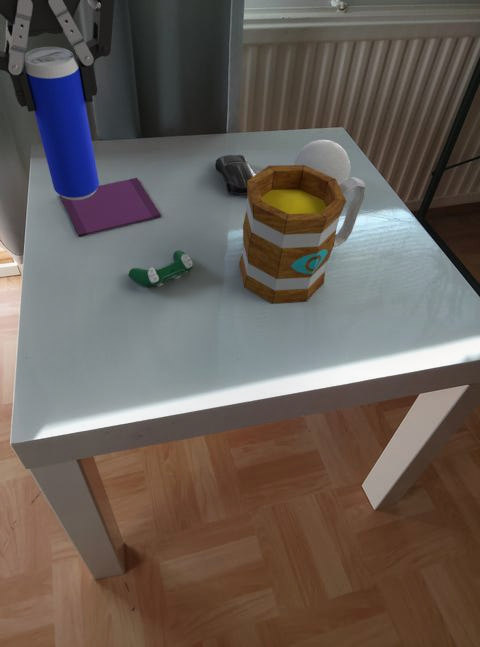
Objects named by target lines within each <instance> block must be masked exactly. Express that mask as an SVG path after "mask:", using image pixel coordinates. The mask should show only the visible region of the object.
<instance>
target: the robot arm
mask: <svg viewBox="0 0 480 647" xmlns="http://www.w3.org/2000/svg"><path fill="white" fill-rule="evenodd" d="M86 1H87V3H88V5H89V6H90V7H91V9H92V22H91V23H92V26H91V39H90V40H87V41H85V39H84V37H83V35H82V33H81V32H80V29H79V28H78V26H77V24H76V23H75V21H74V19H73V18H74V16H75V13H76V11H77V9H78V7H79V5H80V3H81V0H0V15H1V16H2V18H4V19H5V20H6V22H5V23H6V24H5V32H4V33H5V42H4V51H2V50H0V71H4V72H6V73H7V74H8V75H9V78H10V81H11V82H10V83H11V86H12V90H13V92H14V96H15V98H16V100H17V103H18V104H19V105H20V107H21V108H22V107H23V108H24V107H25V108H26V110H27V112H34V111H35V106H34V102H33V98H32V95H31V91H30V87H29V83H28V79H27V75H26V73H25V71H24V57H25V54H26V52H27V47H28V40H29V38H31V37H38V36H40V35H43V34H45V33H46V34H52V35H59V34H64V35H65V37H66V38H67V40H68V42H69V43H70V45H71V47H72V48H73V50H74V52H75V54H76V57H75V59H76V61H77V63H78V65H79V70H80V76H81V82H82V88H83V94H84V99H85V104H87V103H92V102H93V101H94V99H93V97H94V96H97V93H98V86H97V79H96V73H95V66H94V65H95V62H96V60H98V59H99V58H101V57H104V58H105V57H108V56H109V55H110V54H111V52H112V36H113V24H114V11H115V0H86Z"/></svg>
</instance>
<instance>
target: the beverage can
mask: <svg viewBox="0 0 480 647" xmlns="http://www.w3.org/2000/svg"><path fill="white" fill-rule="evenodd" d="M75 58H76V57H75V54H74V53H73V52H72V51H70V50H69V49H67V48H64V47H60V46H42V47H36V48H33V49H31V50H29V51H28V52H27V51H26V52H25V53H24V61H23V69H24V71H25V73H26V75H27V79H28V83H29V87H30V91H31V95H32V98H33V102H34V106H35V111H33V112H34V115H35V119H36V123H37V127H38V131H39V135H40V139H41V143H42V147H43V152H44V155H45V159H46V163H47V166H48V172H49V174H50V179H51V183H52V186H53V190H54V192H55V193H57V194H58V195H59V197H60V196H62V197H63V198H66V199H69V200H82V199H85V198H88V197H90V196H92V195H93V194H94V193H95V191H96V190H97V188H98V186H100V181H99V180H100V179H99V175H98V168H97V164H96V157H95V153H94V152H95V151H94V146H93V141H92V135H91V134H92V133H91V129H90V123H89V117H88V111H87V105H86V102H85V99H84V94H83V88H82V82H81V76H80V70H79V65H78V63H77V61H76V59H75Z"/></svg>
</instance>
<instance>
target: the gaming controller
mask: <svg viewBox="0 0 480 647" xmlns="http://www.w3.org/2000/svg"><path fill="white" fill-rule="evenodd" d="M172 258H173V259H172V260H173V262H172V263H169V264H168V265H165V266H162V267H160V268H157V269H155V267H153V266H152V267H149V268H148V269H144V268H140V267H133V268H131V269H130V270H129V271H128V274H127V275H128V277H129V279H131V280H132V281H133V282H134V283H136V284H138V285H140V286H142V287H144V288H148V289H150V288H152V287H160V286H163V285H164V282H166V281H168V280H171V279H173V280H177V279H179V278H180V277H181V275H182V274H185V273H187V272H190V271H191V270H193V269H194V262H193V260H192V258H190V257H189V255H188V254H187V253H186V252H184V251H183V250H180V249H179V250H175V251H174V252H173V257H172Z"/></svg>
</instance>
